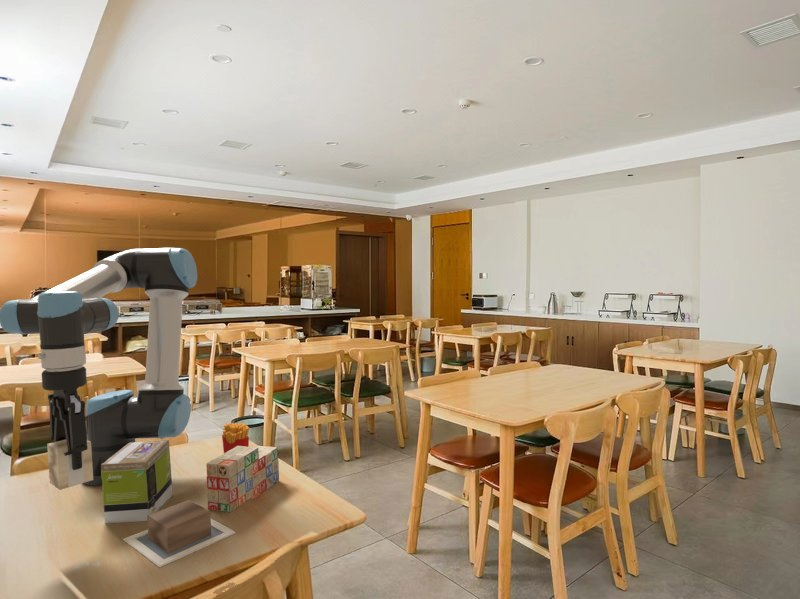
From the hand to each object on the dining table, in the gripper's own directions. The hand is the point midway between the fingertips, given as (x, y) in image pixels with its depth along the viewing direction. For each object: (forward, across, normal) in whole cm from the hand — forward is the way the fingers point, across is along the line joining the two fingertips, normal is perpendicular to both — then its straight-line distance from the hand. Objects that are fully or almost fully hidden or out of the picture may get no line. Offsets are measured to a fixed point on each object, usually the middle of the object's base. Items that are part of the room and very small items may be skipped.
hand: (70, 479), depth 104 cm
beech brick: (0, 0, 0) cm, 0 cm away
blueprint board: (+14, +15, +15) cm, 26 cm away
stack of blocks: (+15, +7, +36) cm, 40 cm away
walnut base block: (+13, +15, +15) cm, 25 cm away
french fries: (+15, -11, +45) cm, 48 cm away
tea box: (+15, -6, +16) cm, 22 cm away
